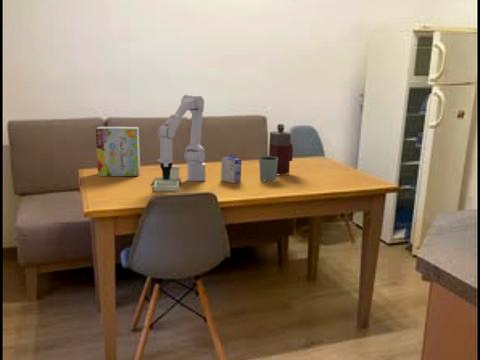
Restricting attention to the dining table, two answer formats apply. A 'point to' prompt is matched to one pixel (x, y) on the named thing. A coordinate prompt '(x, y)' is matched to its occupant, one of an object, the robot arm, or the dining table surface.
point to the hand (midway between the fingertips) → (166, 178)
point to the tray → (166, 186)
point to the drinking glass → (268, 168)
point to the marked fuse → (166, 181)
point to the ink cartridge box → (231, 169)
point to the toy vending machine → (281, 149)
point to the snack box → (118, 151)
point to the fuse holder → (161, 179)
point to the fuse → (175, 172)
